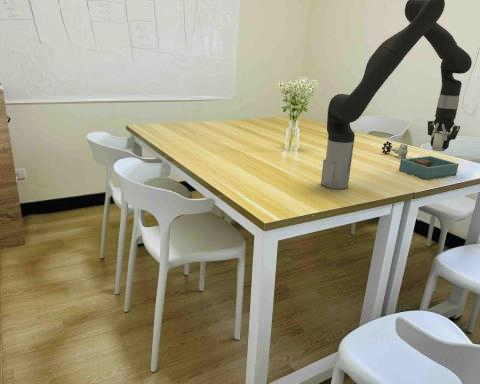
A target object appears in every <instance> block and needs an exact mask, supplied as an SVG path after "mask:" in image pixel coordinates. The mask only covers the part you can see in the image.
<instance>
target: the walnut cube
mask: <svg viewBox="0 0 480 384" xmlns="http://www.w3.org/2000/svg"><path fill="white" fill-rule="evenodd" d="M414 163H416V164H420V165H423V166H426V167H432V163H433V162H432V161H429V160H425V159H416V160H414Z"/></svg>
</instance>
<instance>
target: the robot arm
mask: <svg viewBox="0 0 480 384" xmlns="http://www.w3.org/2000/svg"><path fill="white" fill-rule="evenodd" d="M445 5H446V2H445V0H407V2H406V4H405V6H404V16H405V18H406V20H407V21H408V22H409V24H408V25H407V26H405V27H404V28H403V29H402V30H400V31H398V32H397V33H394V34H392V36H390V37H389V38H387V39H385V41H383V42H382V43H381V44H380V45H379V46H378V47H377V49H376V50H375V51H374V52H373V53H372V54H371V56H370V57H369V59H368V60H367V63H366V66H365V70H364V73H363V76H362V79H361V81H360V82H359V83H358V85H357V86H356V87H355V88H354V89H353V90H352V92H351V93H350V94H346V93H338V94H335V95H333V97H332V98H331V99H330V101H329V104H328V108H327V119H326V120H327V121H326V132H327V145H326V155H325V159H323V160H322V168H321V169H322V170H321V180H320V181H321V182H320V184H321V185H322V186H325V187H326V188H329V189H332V190H333V189H336V190H342V189H347V188H349V185H350V184H349V181H350V176H351V175H350V174H351V166H352V160H353V152H354V144H355V136H356V134H355V132H354V131H353V129H352V127H351V124H352V123H354V122H356V121H358V120H359V119H360V117H361V116H362V115H363V113H364V112H365V110H366V109H367V107H368V106H369V104H370V102H371V101H372V99H373V98H374V96H376V93H377V92H378V91H380V89H381V87H382V86H383V85H384V83H386V81H387V80H388V79H389V78H390V76H392V74H393V72H395V70H396V69H397V68H398V67H399V65H400V64H401V62H403V60H404V58H405V57H406V56H407V55H408V54H409V52H410V51H411V50H412V49H413V47H415V45H416V44H417V43H418V42H419V40H421V39H422V38H423V37H424V38H425V39H426V40H427V41H428V42H429V44H430V45H431V47H432V48H433V50H434V51H435V53H436V55H437V56H438V58H439V59H441V62H440V75H441V76H440V77H441V86H440V87H441V88H440V92H439V96H438V100H437V104H436V110H435V115H434V117H435V118H434V120H428V121H427V135H428V136H430V137H431V139H430V146H431V147H432V146H433V141H434V136H435V133H439V132H442V133H443V135H444V139H445V140H444V142H443V147H442V149H444V150H445V151H446V150H448V149H449V147H450V141H454V140H456V138H457V136H458V134H459V132H460V130H461V126H460V125H457V124H455V120H456V116H457V114H458V113H457V112H458V108H459V103H460V94H461V90H462V84H463V83H462V81H461V80H458V79H456V78H454V74H458V75H461V74H465V73H468V71H469V70H470V69H471V68H472V63H473V61H472V57H471V56H470V54H469V53H468V52H467V51H465V49H463V48H462V47H461V46H459V45H458V43H457V42H456V40H455V38H454V36H453V35H452V34H451V33H450V32H449V31H448V30H447V29H446V28H445V27H443V26H442V25H440V24H439V23H438V21H439V19H440V18H441V17H442V15H443V13H444V11H445V7H446V6H445Z"/></svg>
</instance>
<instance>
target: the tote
mask: <svg viewBox="0 0 480 384" xmlns="http://www.w3.org/2000/svg"><path fill="white" fill-rule="evenodd" d="M416 159H425V160H429V161H432V162H433V163H432V167H426V166H423V165H420V164H416V163H414V160H416ZM459 165H460V164H459V163H457V162H453V161H451V160H446V159H442V158H439V157H435V156H432V155H428V156H419V157H411V158H409V157H408V158H406V159H400V163H399V168H398V171H399V172H402V173H404V174H407V175H410V176H413V177H416V178H418V179H422V180H425V181H429V180H436V179H442V178H447V177H454V176H455V177H456V176H457V173H458V170H459V169H458V168H459Z"/></svg>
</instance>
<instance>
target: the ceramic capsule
mask: <svg viewBox="0 0 480 384" xmlns="http://www.w3.org/2000/svg"><path fill="white" fill-rule="evenodd" d="M444 140H445V139H444V135H443V132H439V133H435V136H434V141H433V146H431V150H432V151H436V152H446V149H445V150H444V149H442V147H443V142H444Z"/></svg>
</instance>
